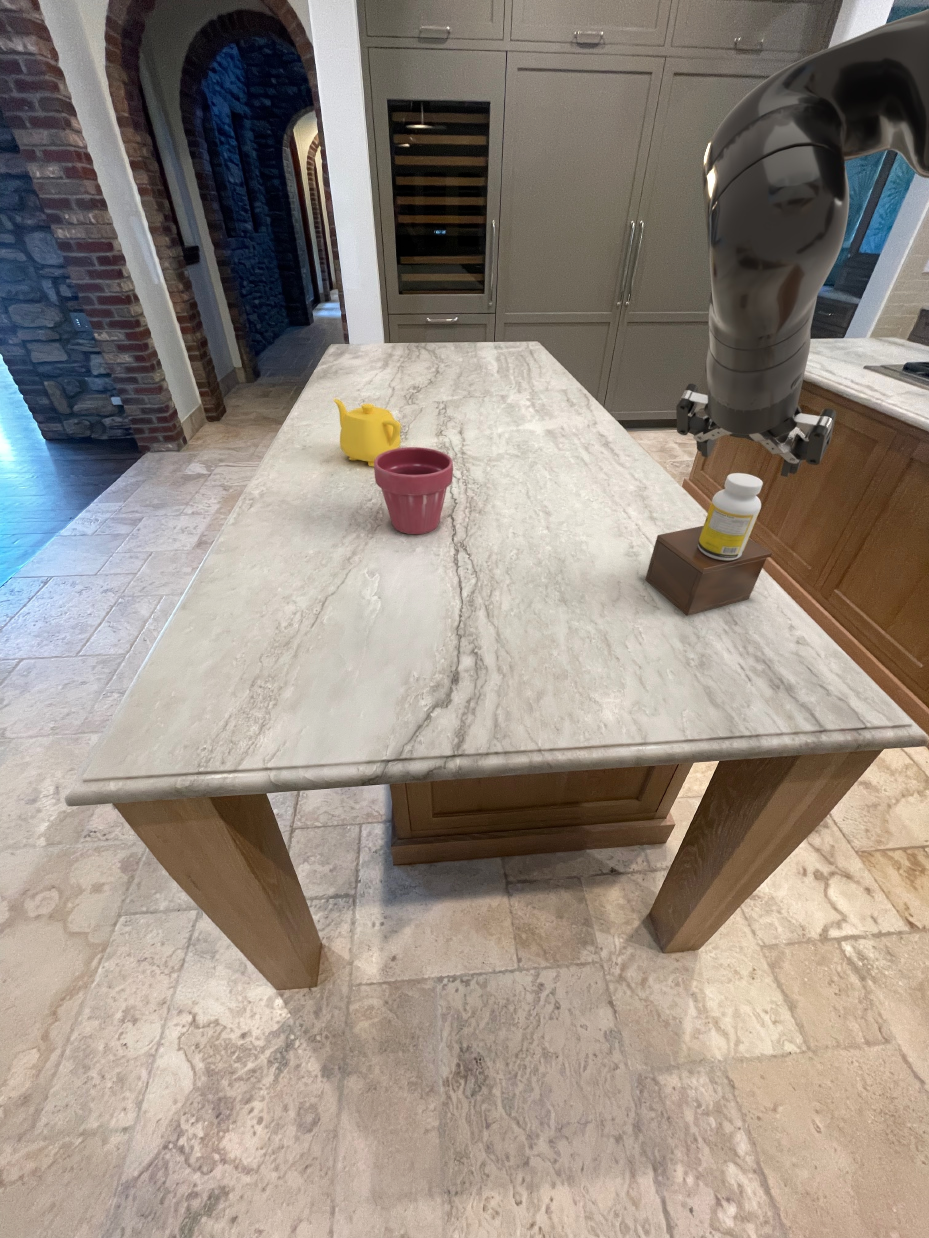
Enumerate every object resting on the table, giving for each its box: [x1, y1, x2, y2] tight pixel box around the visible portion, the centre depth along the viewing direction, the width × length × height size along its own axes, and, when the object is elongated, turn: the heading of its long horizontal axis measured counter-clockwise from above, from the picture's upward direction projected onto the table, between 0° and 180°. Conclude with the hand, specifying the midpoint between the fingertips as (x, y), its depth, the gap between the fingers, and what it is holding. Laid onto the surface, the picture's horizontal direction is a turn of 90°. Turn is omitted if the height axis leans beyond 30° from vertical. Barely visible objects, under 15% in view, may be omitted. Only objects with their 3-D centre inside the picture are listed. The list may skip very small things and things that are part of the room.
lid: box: [656, 525, 773, 573], centre depth 84 cm, size 13×11×1 cm
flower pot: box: [373, 446, 454, 535], centre depth 101 cm, size 14×14×13 cm
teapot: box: [333, 398, 402, 467], centre depth 127 cm, size 13×20×12 cm
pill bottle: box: [698, 472, 764, 560], centre depth 78 cm, size 6×6×12 cm
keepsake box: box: [644, 539, 767, 617], centre depth 86 cm, size 13×11×8 cm
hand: (746, 459), depth 60 cm, fingers open, 8 cm apart
